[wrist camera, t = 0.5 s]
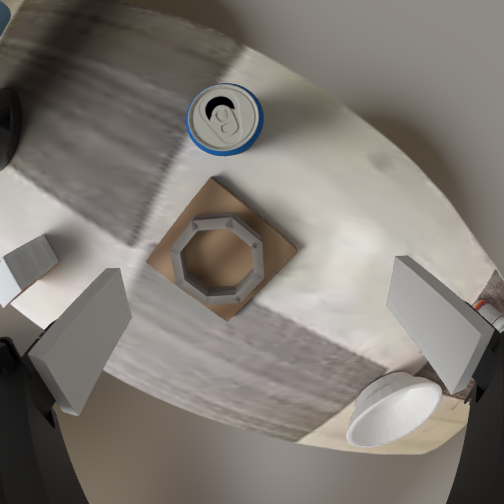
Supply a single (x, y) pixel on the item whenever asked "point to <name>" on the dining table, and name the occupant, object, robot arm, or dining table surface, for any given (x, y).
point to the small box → (24, 268)
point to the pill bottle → (490, 314)
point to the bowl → (392, 409)
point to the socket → (220, 251)
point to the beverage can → (224, 119)
